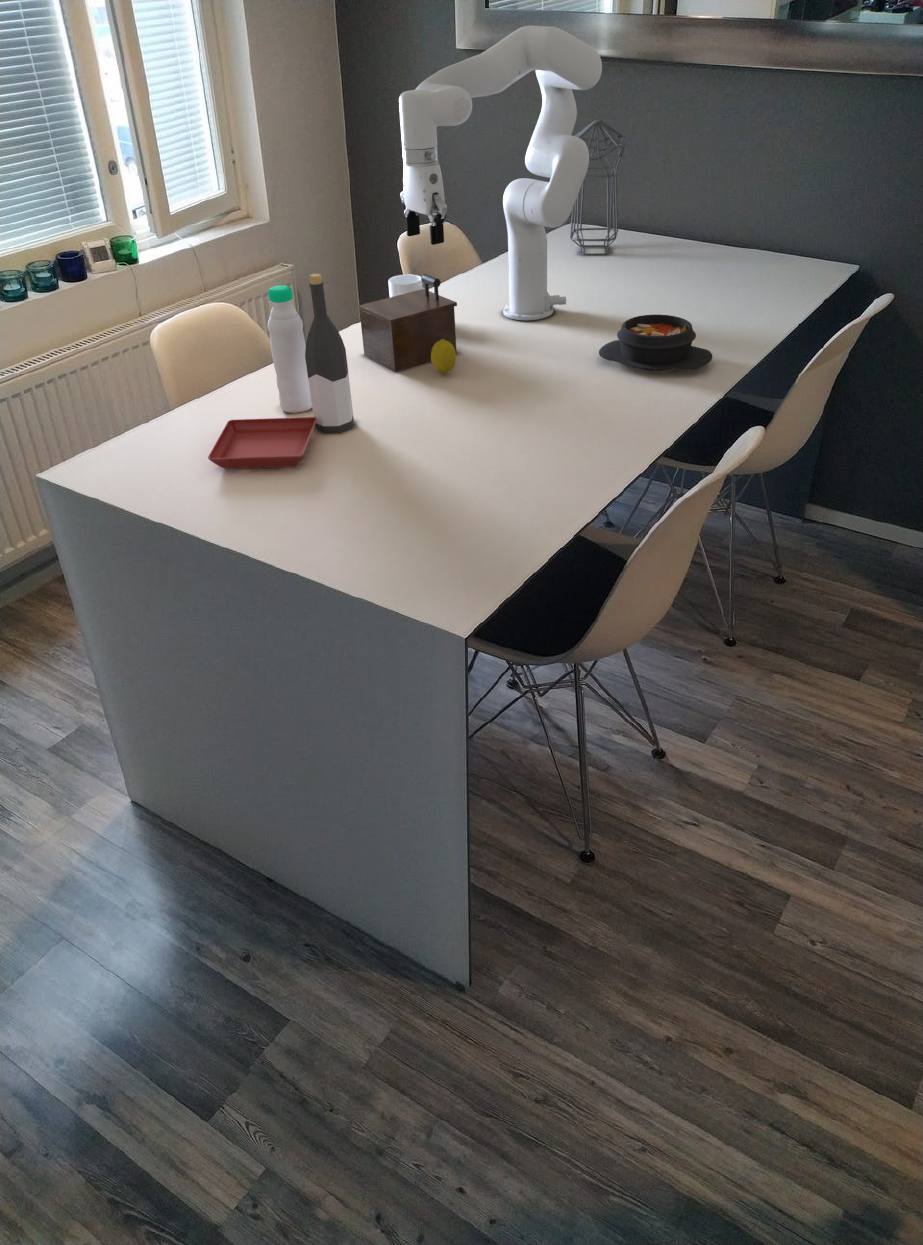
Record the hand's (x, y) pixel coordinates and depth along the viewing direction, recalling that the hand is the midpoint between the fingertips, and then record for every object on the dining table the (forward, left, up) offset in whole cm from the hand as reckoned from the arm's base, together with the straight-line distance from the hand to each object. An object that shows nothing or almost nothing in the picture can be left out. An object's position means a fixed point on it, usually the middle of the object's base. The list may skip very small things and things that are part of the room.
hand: (425, 239), depth 224 cm
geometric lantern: (-53, -70, -25) cm, 91 cm away
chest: (+5, +4, -25) cm, 26 cm away
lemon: (-2, +18, -25) cm, 31 cm away
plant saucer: (+35, +51, -25) cm, 67 cm away
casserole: (-48, +20, -25) cm, 58 cm away
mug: (+3, -19, -25) cm, 32 cm away
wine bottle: (+22, +41, -25) cm, 53 cm away
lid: (+5, +4, -14) cm, 15 cm away
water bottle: (+30, +30, -25) cm, 49 cm away
